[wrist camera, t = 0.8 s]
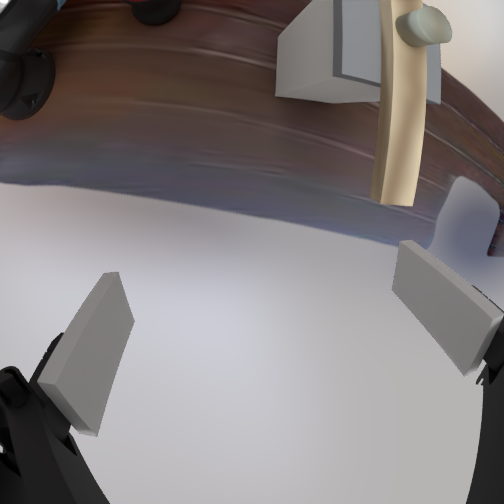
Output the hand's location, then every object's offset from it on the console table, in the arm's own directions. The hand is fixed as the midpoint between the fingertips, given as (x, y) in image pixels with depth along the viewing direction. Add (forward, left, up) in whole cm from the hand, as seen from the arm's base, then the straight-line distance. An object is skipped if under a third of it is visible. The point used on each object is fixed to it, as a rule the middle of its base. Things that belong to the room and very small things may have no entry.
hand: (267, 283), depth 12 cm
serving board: (+14, +14, -12) cm, 23 cm away
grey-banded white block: (+14, +18, -40) cm, 46 cm away
